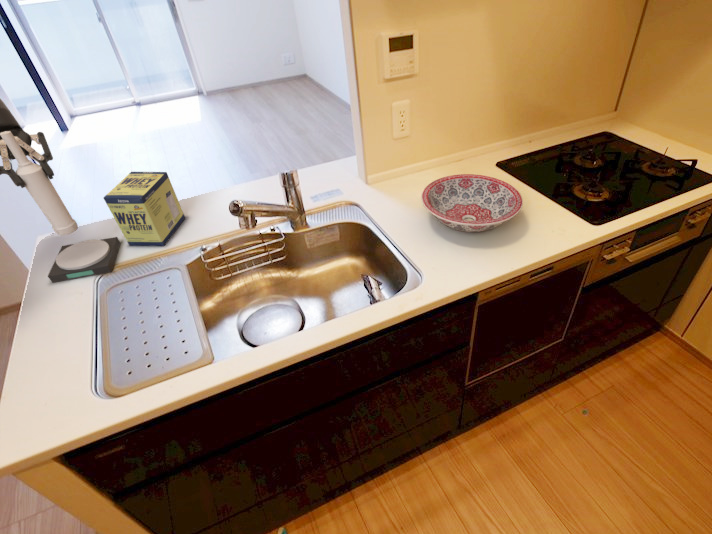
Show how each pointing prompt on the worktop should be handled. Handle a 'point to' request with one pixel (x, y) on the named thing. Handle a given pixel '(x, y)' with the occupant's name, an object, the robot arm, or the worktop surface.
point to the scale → (85, 259)
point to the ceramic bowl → (471, 201)
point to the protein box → (145, 208)
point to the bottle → (41, 189)
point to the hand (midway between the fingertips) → (37, 181)
